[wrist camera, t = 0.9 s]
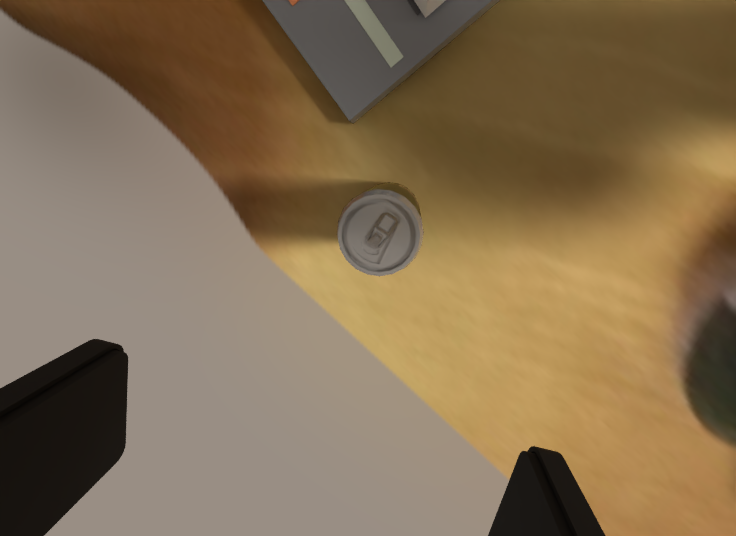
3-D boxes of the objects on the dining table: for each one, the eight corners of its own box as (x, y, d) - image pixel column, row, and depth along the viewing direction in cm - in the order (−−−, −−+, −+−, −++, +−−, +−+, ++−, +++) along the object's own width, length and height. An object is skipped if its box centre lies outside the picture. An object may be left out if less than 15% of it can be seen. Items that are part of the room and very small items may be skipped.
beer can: (381, 170, 33) (365, 171, 21) (432, 204, 33) (442, 224, 22) (348, 220, 34) (317, 247, 23) (397, 253, 35) (390, 296, 23)
